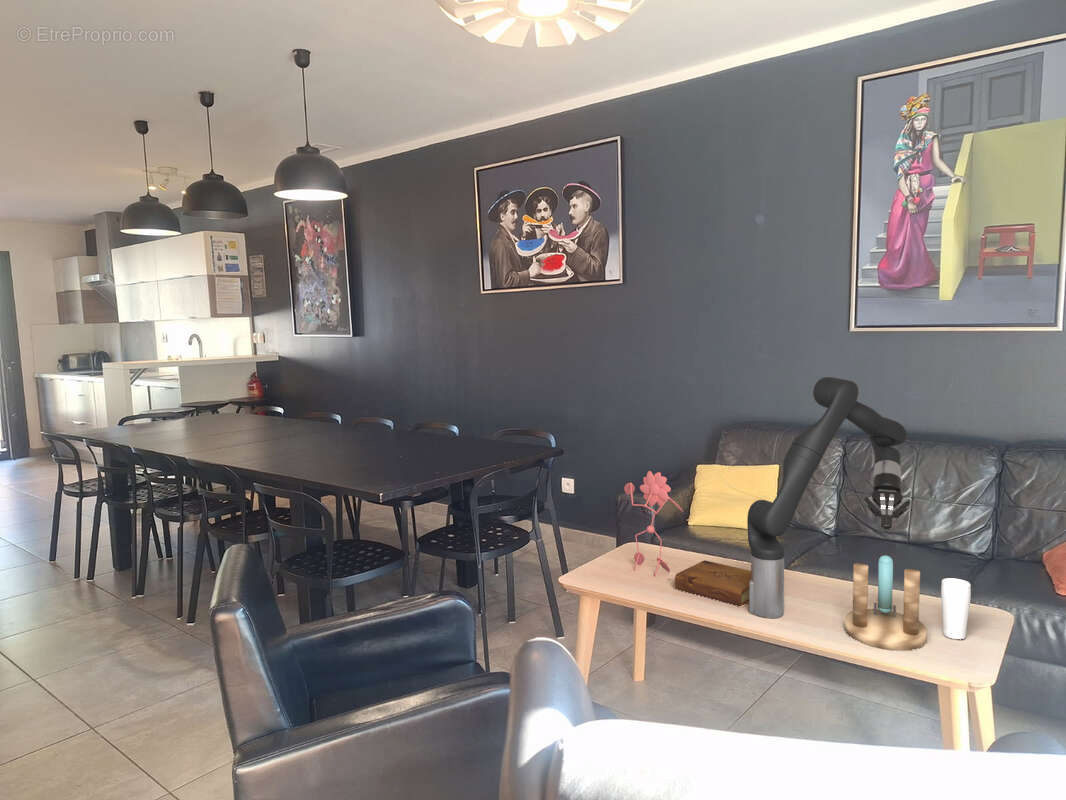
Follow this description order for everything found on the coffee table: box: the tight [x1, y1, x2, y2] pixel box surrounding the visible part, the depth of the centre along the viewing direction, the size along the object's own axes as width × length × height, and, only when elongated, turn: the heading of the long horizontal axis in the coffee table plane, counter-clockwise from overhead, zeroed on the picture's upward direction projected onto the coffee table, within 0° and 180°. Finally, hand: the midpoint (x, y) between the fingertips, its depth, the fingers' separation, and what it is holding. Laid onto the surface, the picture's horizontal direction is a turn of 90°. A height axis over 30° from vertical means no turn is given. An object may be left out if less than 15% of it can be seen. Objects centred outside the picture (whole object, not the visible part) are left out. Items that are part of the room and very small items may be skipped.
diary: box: [674, 559, 751, 607], centre depth 223 cm, size 23×19×6 cm
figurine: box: [623, 470, 684, 581], centre depth 244 cm, size 15×26×35 cm, turn 43°
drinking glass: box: [940, 577, 972, 641], centre depth 185 cm, size 7×7×15 cm
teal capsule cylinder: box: [877, 555, 894, 614], centre depth 193 cm, size 4×4×17 cm
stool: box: [843, 562, 928, 652], centre depth 187 cm, size 20×20×20 cm
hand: (886, 528), depth 202 cm, fingers closed
